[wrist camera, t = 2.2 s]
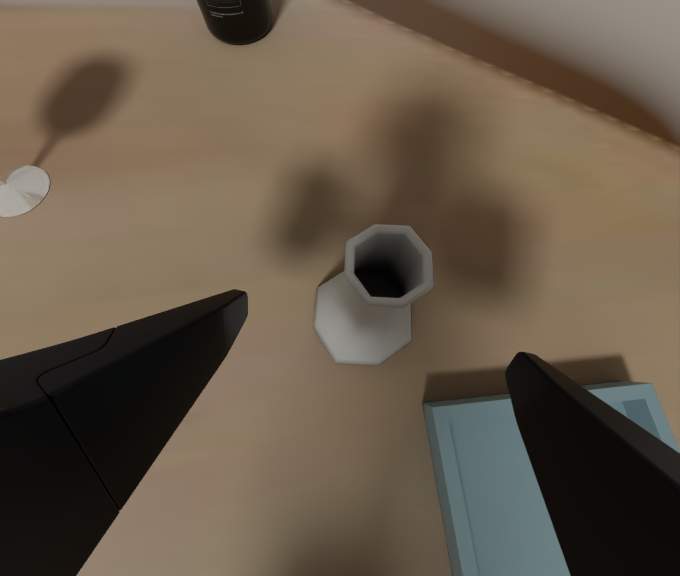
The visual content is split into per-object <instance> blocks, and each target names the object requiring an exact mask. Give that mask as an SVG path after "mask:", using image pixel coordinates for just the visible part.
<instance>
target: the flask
mask: <svg viewBox="0 0 680 576" xmlns="http://www.w3.org/2000/svg"><path fill="white" fill-rule="evenodd" d="M433 287H434V281H433V263H432V252H431V251H430V249H429V248H428V247H427V246H426V245H425V243H424V242H423V241H422V240H421V239H420V237H419V236H418V235H417V234H416V233H415V231H414V230H413V229H412V228H411V227H410V226H407V225H386V224H374V225H372V226H371V227H369V228H367V229H366V230H364V231H363V232H361V233H359V234H358V235H356V236H354V237H353V238H351V239H350V240H348V241H346V249H345V270H344V271H343V272H341V273H340V274H338V275H337V276H335V277H333V278H332V279H330V280H329V281H327V282H326V283H324V284H322V285H321V286H319V287H318V288H316V298H315V311H314V324H313V328H314V330H315V331H316V333H317V334H318V336H319V337H320V339H321V341H322V342H323V344H324V345H325V347H326V348H327V350H328V351H329V353H330V355H331V356H332V358H333V359H334V361H335V362H336V363H346V364H365V365H379V364H381V363H382V362H383V361H385V360H386V359H387V358H389V357H390V356H392V355H393V354H394V353H396V352H397V351H398V350H400V349H401V348H403V347H404V346H405V345H407V344H408V343H409V342H411V341H412V338H411V304H410V303H412V302H413V301H415V300H416V299H418V298H419V297H420V296H422V295H423V294H425V293H426V292H428V291H429V290H430V289H432V288H433Z"/></svg>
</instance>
